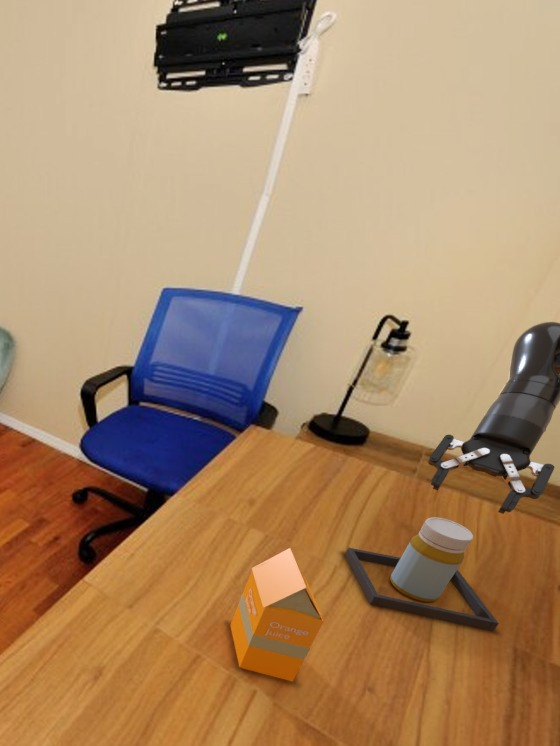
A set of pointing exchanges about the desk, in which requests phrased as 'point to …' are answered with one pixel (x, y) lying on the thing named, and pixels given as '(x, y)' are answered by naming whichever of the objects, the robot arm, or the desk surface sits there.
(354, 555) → the dark rectangular frame
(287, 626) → the orange juice
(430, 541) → the bottle
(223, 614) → the desk surface
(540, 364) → the robot arm
